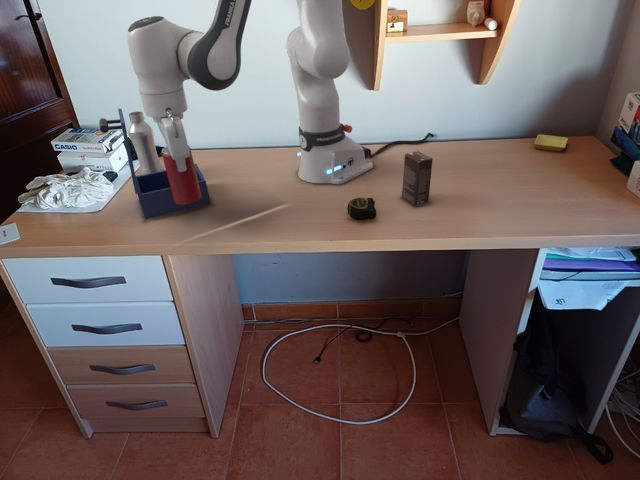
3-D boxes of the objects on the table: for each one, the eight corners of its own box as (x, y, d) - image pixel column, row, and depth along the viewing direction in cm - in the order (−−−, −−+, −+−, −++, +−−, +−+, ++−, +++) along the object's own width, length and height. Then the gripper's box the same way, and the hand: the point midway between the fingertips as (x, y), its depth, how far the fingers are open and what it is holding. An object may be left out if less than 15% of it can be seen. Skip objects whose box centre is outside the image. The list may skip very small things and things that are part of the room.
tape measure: (376, 223, 106) (376, 209, 104) (347, 224, 106) (347, 210, 104) (374, 209, 111) (375, 195, 109) (347, 209, 112) (347, 196, 110)
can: (195, 189, 110) (184, 141, 103) (205, 198, 106) (194, 148, 99) (170, 197, 107) (157, 148, 101) (179, 207, 103) (166, 156, 96)
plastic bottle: (159, 185, 130) (140, 117, 119) (138, 184, 131) (118, 117, 120) (169, 175, 135) (152, 109, 124) (149, 174, 136) (131, 109, 126)
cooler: (201, 187, 127) (196, 163, 123) (211, 205, 117) (205, 180, 113) (141, 201, 122) (133, 176, 118) (145, 221, 112) (137, 195, 108)
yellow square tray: (563, 154, 133) (565, 147, 132) (532, 149, 137) (533, 143, 136) (566, 144, 140) (568, 137, 138) (536, 140, 143) (538, 134, 142)
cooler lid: (121, 108, 109) (97, 110, 107) (124, 122, 99) (98, 125, 97) (134, 174, 118) (112, 177, 116) (139, 193, 108) (115, 197, 106)
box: (429, 202, 113) (433, 158, 106) (414, 207, 111) (418, 162, 105) (415, 193, 117) (418, 150, 111) (401, 197, 116) (403, 153, 109)
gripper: (188, 113, 87) (202, 178, 95) (173, 90, 103) (185, 147, 111) (155, 119, 85) (172, 184, 93) (144, 94, 101) (159, 152, 109)
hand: (179, 164), depth 102 cm, fingers closed on can, 6 cm apart
